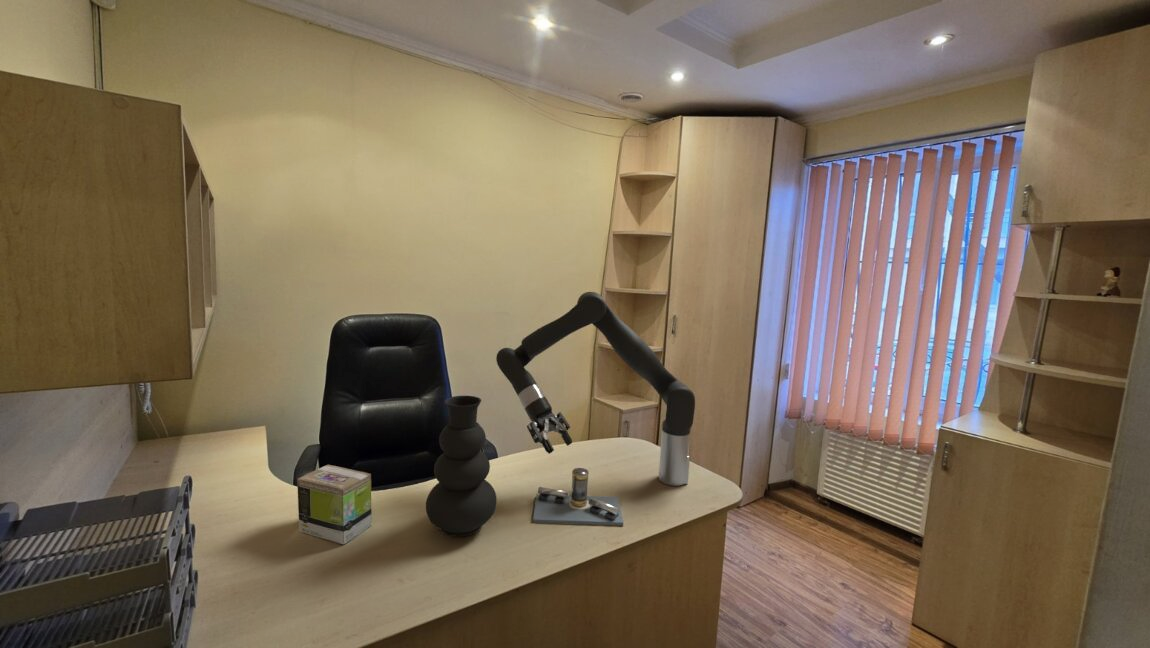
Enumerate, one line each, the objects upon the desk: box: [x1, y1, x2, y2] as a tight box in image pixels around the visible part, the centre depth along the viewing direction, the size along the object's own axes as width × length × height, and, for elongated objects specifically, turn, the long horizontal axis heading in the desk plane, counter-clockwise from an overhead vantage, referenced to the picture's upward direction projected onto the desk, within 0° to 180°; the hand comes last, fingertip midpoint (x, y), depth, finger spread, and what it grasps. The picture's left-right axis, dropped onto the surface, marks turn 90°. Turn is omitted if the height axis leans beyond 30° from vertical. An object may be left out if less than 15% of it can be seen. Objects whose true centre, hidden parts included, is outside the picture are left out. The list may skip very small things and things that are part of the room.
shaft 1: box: [537, 486, 570, 504], centre depth 140 cm, size 9×4×4 cm, turn 76°
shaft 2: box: [589, 498, 619, 521], centre depth 134 cm, size 9×4×4 cm, turn 56°
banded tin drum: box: [570, 467, 589, 508], centre depth 137 cm, size 5×5×10 cm
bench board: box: [532, 493, 624, 527], centre depth 136 cm, size 25×14×1 cm, turn 91°
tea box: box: [296, 464, 373, 545], centre depth 121 cm, size 15×10×15 cm, turn 71°
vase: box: [425, 395, 498, 537], centre depth 123 cm, size 18×18×35 cm
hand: (561, 448), depth 141 cm, fingers open, 8 cm apart
